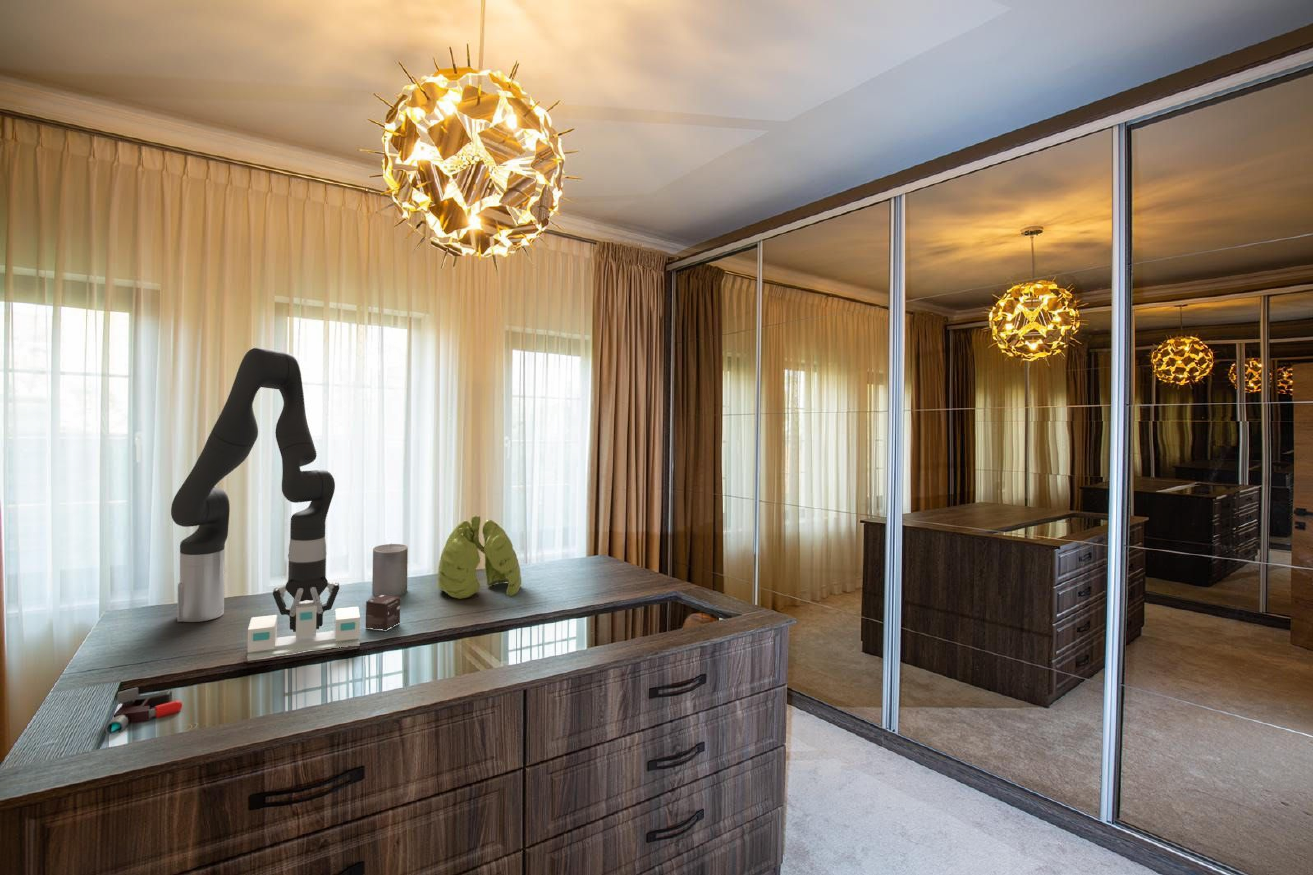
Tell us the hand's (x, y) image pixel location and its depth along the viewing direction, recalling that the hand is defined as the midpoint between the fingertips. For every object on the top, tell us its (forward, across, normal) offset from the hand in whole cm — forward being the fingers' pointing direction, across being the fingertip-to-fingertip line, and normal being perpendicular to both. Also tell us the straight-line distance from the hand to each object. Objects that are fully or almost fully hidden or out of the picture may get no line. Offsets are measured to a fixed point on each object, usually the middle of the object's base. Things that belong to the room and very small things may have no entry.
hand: (306, 629), depth 142 cm
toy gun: (+5, +24, +23) cm, 34 cm away
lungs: (+5, -46, -29) cm, 55 cm away
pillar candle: (+5, -21, -36) cm, 42 cm away
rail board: (+5, 0, 0) cm, 5 cm away
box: (+5, -17, -8) cm, 19 cm away
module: (+1, 0, 0) cm, 1 cm away
